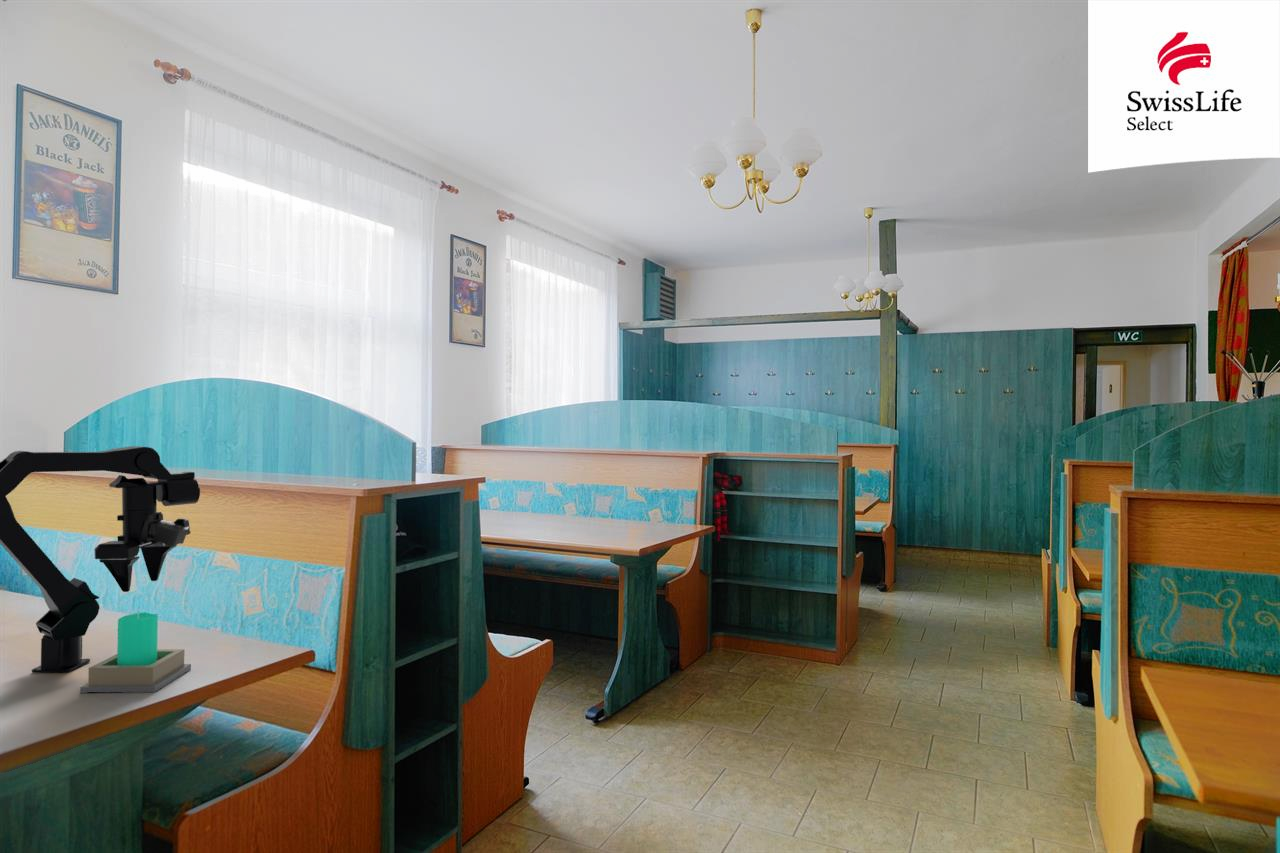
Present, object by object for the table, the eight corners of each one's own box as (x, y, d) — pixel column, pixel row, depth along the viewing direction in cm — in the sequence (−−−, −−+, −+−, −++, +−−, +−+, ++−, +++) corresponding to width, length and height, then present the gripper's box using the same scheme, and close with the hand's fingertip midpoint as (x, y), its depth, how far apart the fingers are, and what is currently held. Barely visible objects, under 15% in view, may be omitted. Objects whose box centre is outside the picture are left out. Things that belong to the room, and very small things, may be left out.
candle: (135, 682, 128) (136, 613, 128) (108, 678, 130) (109, 610, 130) (165, 671, 134) (166, 605, 134) (139, 668, 136) (140, 602, 136)
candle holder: (154, 692, 126) (155, 668, 126) (80, 693, 125) (80, 669, 125) (190, 669, 138) (191, 647, 138) (122, 670, 137) (123, 648, 137)
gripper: (153, 515, 140) (154, 597, 140) (205, 502, 158) (206, 575, 158) (92, 515, 139) (93, 598, 139) (151, 503, 157) (152, 576, 158)
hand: (140, 586), depth 149 cm, fingers open, 9 cm apart
